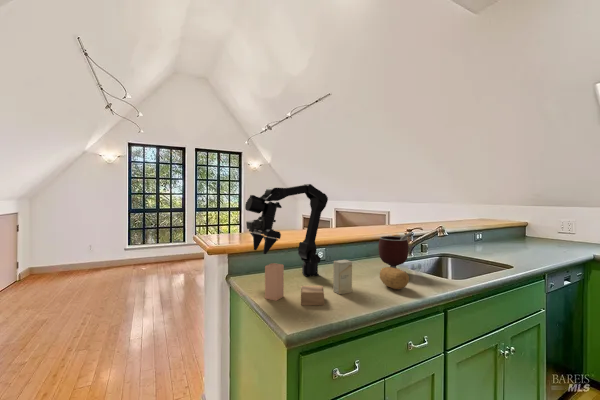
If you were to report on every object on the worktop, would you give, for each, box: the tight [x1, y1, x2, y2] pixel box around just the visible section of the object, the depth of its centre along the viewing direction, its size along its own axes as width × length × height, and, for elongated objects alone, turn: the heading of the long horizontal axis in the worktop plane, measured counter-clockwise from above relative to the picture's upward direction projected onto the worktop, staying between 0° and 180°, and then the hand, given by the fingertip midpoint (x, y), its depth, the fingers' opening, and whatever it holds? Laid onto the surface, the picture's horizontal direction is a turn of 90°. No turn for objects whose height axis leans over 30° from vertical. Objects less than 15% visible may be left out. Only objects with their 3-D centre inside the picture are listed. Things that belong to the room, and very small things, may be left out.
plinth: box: [300, 285, 325, 306], centre depth 102 cm, size 8×8×4 cm
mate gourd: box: [378, 232, 413, 273], centre depth 138 cm, size 16×14×20 cm
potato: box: [379, 266, 410, 290], centre depth 116 cm, size 10×14×8 cm
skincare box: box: [332, 259, 353, 295], centre depth 112 cm, size 6×4×12 cm
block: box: [264, 262, 285, 302], centre depth 106 cm, size 5×5×12 cm
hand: (259, 252), depth 120 cm, fingers open, 9 cm apart
